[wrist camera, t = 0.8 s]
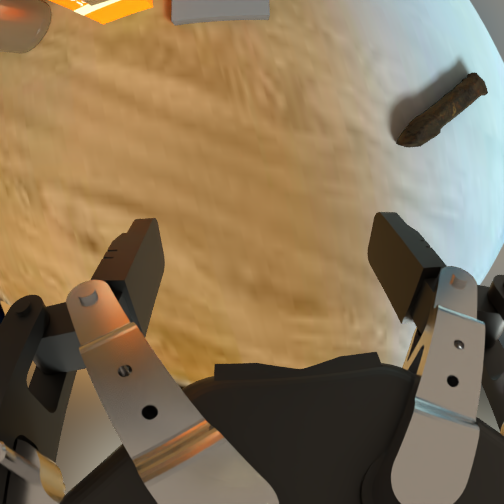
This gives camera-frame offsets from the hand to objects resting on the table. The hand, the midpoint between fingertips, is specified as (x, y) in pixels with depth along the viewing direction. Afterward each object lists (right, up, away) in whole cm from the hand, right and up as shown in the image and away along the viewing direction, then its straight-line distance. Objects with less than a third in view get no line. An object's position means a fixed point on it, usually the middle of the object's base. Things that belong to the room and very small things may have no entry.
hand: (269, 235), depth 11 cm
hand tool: (+27, +20, +25) cm, 42 cm away
